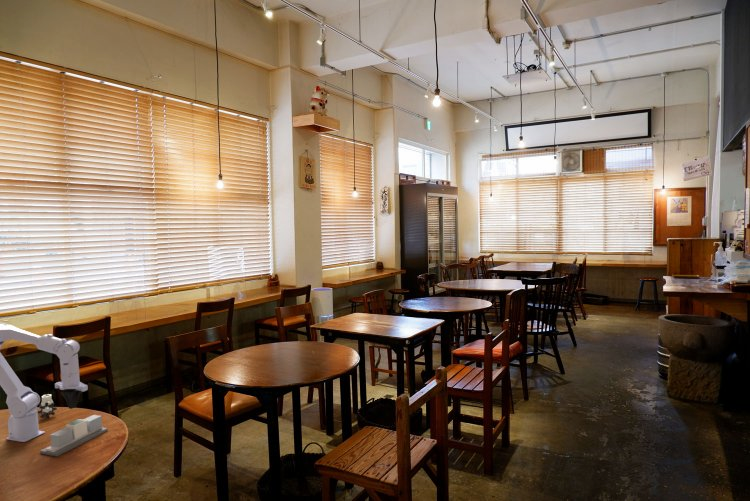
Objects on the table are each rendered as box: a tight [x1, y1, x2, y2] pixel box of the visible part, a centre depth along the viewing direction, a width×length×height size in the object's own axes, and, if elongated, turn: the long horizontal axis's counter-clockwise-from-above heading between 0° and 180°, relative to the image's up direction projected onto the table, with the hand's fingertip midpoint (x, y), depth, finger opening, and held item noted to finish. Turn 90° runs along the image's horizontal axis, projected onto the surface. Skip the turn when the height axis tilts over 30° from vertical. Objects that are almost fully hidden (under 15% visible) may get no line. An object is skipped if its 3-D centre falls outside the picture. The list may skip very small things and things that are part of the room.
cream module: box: [65, 418, 87, 439], centre depth 170 cm, size 4×5×5 cm
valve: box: [37, 393, 58, 419], centre depth 196 cm, size 7×7×12 cm
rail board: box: [39, 414, 108, 457], centre depth 169 cm, size 8×20×6 cm, turn 161°
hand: (72, 407), depth 177 cm, fingers closed
